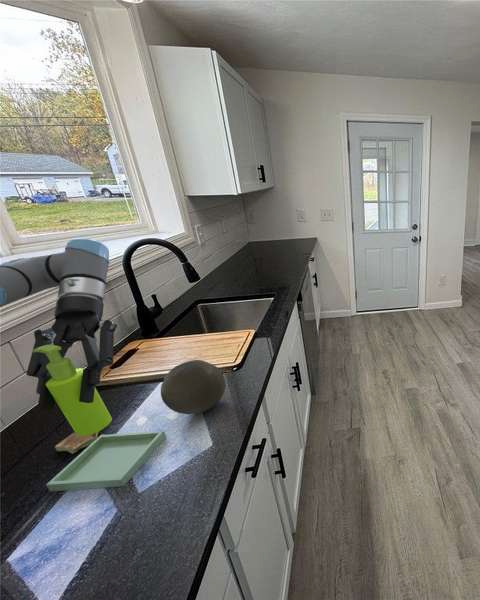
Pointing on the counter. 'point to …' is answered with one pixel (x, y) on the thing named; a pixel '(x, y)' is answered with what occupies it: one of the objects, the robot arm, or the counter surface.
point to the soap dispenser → (73, 394)
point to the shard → (75, 442)
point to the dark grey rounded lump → (193, 387)
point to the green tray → (108, 461)
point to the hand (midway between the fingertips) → (66, 405)
